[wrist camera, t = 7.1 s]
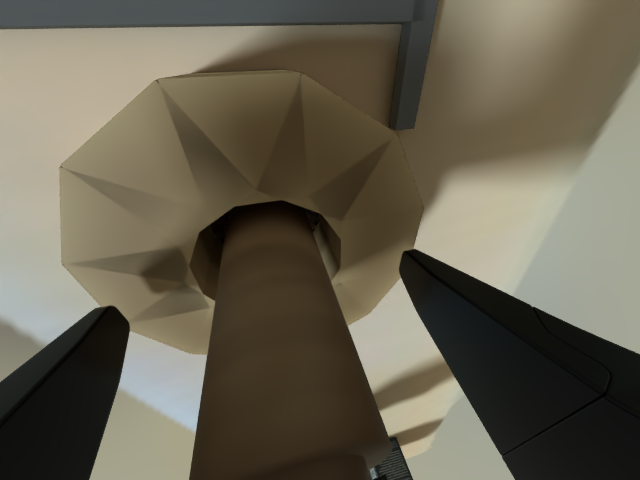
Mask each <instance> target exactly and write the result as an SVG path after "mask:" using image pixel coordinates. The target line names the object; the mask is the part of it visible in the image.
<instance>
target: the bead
mask: <svg viewBox="0 0 640 480" xmlns="http://www.w3.org/2000/svg"><path fill="white" fill-rule="evenodd" d="M59 171H60V216H61V262H62V265H63V266H64V267H65V268H66V269H67V270H68V272H69V273H70V274H71V275H72V276H73V277H74V278H75V279H76V280H77V281H78V282H79V283H80V284H81V286H82V287H83V288H84V289H85V290H86V291H87V292H88V293H89V294H90V295H91V296H92V297H93V299H94V300H95V301H96V302H97V303H98V304H99V305H100V306H101V307H104V306H109V305H113V306H115V307H116V308H117V309H118V310H119V311H120V312H121V313H122V314H123V316H124V317H125V318H126V319H127V320H128V322H129V324H130V331H132V332H135V333H138V334H140V335H143V336H145V337H148V338H151V339H153V340H156V341H158V342H161V343H164V344H166V345H169V346H171V347H174V348H177V349H179V350H182V351H184V352H187V353H190V354H205V355H207V354H208V347H209V340H210V334H211V327H212V320H213V313H214V306H215V299H216V293H217V286H218V279H219V272H220V265H221V258H222V252H223V245H224V244H223V243H222V242H220V241H219V240H218V239H217V238H215V237H214V234H213V231H212V228H211V226H210V224H211V223H212V222H214V221H215V220H217V219H218V218H219V217H221V216H222V215H223V214H225V213H226V212H228V211H229V210H230V209H232V208H233V207H234V206H241V205H248V204H256V203H263V202H271V201H278V200H284V201H287V202H289V203H292V204H295V205H298V206H301V207H303V208H306V209H309V210H312V211H314V212H317V213H319V217H320V221H319V223H318V225H317V226H316V228H315V230H314V232H313V235H314V237H315V240H316V243H317V245H318V248H319V251H320V253H321V256H322V259H323V262H324V264H325V267H326V270H327V272H328V275H329V278H330V280H331V283H332V286H333V288H334V291H335V294H336V297H337V299H338V302H339V305H340V307H341V310H342V313H343V315H344V318H345V321H346V324H347V326H348V325H350V324H352V323H354V322H355V321H357V320H359V319H361V318H362V317H364V316H366V315H368V314H369V313H370V312H371V311H372V310H373V309H374V308H375V306H376V305H377V304H378V303H379V302H380V301H381V300H382V298H383V297H384V296H385V295H386V294H387V293H388V291H389V290H390V289H391V288H392V287H393V286H394V284H395V283H396V282H397V281H398V280H399V279H400V278H401V276H400V274H399V265H400V261H401V256H402V253H403V252H404V251H406V250H411V249H413V248H414V244H415V240H416V236H417V232H418V229H419V225H420V221H421V217H422V213H423V210H424V207H423V204H422V201H421V198H420V195H419V193H418V190H417V187H416V184H415V182H414V179H413V176H412V173H411V171H410V168H409V165H408V162H407V159H406V157H405V154H404V151H403V148H402V146H401V143H400V140H399V137H398V135H397V134H396V133H395V132H394V131H392V130H391V129H389V128H388V127H386V126H384V125H383V124H381V123H380V122H378V121H377V120H375V119H374V118H372V117H370V116H369V115H367V114H366V113H364V112H363V111H361V110H360V109H358V108H356V107H355V106H353V105H352V104H350V103H349V102H347V101H345V100H344V99H342V98H341V97H339V96H338V95H336V94H335V93H333V92H331V91H330V90H328V89H327V88H325V87H324V86H322V85H320V84H319V83H317V82H316V81H314V80H313V79H311V78H310V77H308V76H306V75H305V74H303V73H300V72H295V71H289V70H260V71H237V72H214V73H191V74H185V75H179V76H173V77H167V78H161V79H157V80H154V81H153V82H152V83H151V84H150V85H149V86H148V87H147V88H146V89H144V90H143V91H142V92H141V93H140V94H139V95H138V96H137V97H136V98H134V99H133V100H132V101H131V102H130V103H129V104H128V105H127V106H126V107H124V108H123V109H122V110H121V111H120V112H119V113H118V114H117V115H116V116H114V117H113V118H112V119H111V120H110V121H109V122H108V123H107V124H106V125H104V126H103V127H102V128H101V129H100V130H99V131H98V132H97V133H96V134H94V135H93V136H92V137H91V138H90V139H89V140H88V141H87V142H86V143H84V144H83V145H82V146H81V147H80V148H79V149H78V150H77V151H76V152H74V153H73V154H72V155H71V156H70V157H69V158H68V159H67V160H66V161H64V162H63V163H62V164H61V165H60V167H59Z"/></svg>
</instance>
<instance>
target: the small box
mask: <svg viewBox="0 0 640 480" xmlns="http://www.w3.org/2000/svg"><path fill="white" fill-rule="evenodd" d="M389 439H390V442H391V445H392V452H391V453H390V455H389V456H388V457H387V458H386V459H385V460H383V461H382V462H381V463H379V464H378V465H376V466H375V467H373V468H372V469H370V473H371V476H372V479H375V478H378V477H380V475H382V474H386V477H387V479H388V480H413V478H412V476H411V473H410V471H409V469H408V466H407V463H406V461H405V458H404V456H403V453H402V451H401V448H400V446H399V443H398V441H397V438H396V437H393V438H389Z"/></svg>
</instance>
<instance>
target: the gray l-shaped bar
mask: <svg viewBox="0 0 640 480" xmlns="http://www.w3.org/2000/svg"><path fill="white" fill-rule="evenodd" d="M437 5H438V0H0V29H49V28H125V27H200V26H276V25H352V24H402V31H401V39H400V46H399V54H398V61H397V69H396V77H395V84H394V92H393V99H392V107H391V115H390V122H389V127H390V128H392V129H394V130H403V129H414V126H415V121H416V116H417V110H418V105H419V100H420V95H421V89H422V84H423V79H424V74H425V68H426V63H427V58H428V53H429V47H430V42H431V37H432V32H433V26H434V21H435V16H436V11H437Z"/></svg>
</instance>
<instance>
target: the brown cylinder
mask: <svg viewBox="0 0 640 480" xmlns="http://www.w3.org/2000/svg"><path fill="white" fill-rule="evenodd" d="M391 452H392V445H391V442H390V439H389V437H388V434H387V431H386V429H385V426H384V423H383V421H382V418H381V415H380V412H379V410H378V407H377V404H376V402H375V399H374V396H373V394H372V391H371V388H370V386H369V383H368V380H367V377H366V375H365V372H364V369H363V367H362V364H361V361H360V359H359V356H358V353H357V350H356V348H355V345H354V342H353V340H352V337H351V334H350V332H349V329H348V326H347V324H346V321H345V318H344V315H343V313H342V310H341V307H340V305H339V302H338V299H337V297H336V294H335V291H334V288H333V286H332V283H331V280H330V278H329V275H328V272H327V270H326V267H325V264H324V262H323V259H322V256H321V253H320V251H319V248H318V245H317V243H316V240H315V237H314V235H313V232H312V229H311V226H310V224H309V221H308V218H307V216H306V213H305V210H304V208H303V207H301V206H298V205H295V204H292V203H289V202H287V201H284V200H278V201H271V202H263V203H256V204H248V205H241V206H234V207H233V208H232V209H230V210H229V211H228V217H227V224H226V231H225V238H224V245H223V252H222V258H221V265H220V272H219V279H218V286H217V293H216V299H215V306H214V313H213V320H212V327H211V334H210V340H209V347H208V354H207V361H206V368H205V375H204V381H203V388H202V395H201V402H200V409H199V416H198V422H197V429H196V436H195V443H194V450H193V457H192V463H191V471H190V477H189V480H370V479H369V472H368V470H370V469H372V468H373V467H375V466H376V465H378V464H379V463H381V462H382V461H383V460H385V459H386V458H387V457H388V456H389V455H390V453H391Z"/></svg>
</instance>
